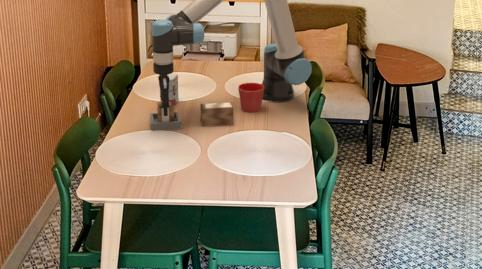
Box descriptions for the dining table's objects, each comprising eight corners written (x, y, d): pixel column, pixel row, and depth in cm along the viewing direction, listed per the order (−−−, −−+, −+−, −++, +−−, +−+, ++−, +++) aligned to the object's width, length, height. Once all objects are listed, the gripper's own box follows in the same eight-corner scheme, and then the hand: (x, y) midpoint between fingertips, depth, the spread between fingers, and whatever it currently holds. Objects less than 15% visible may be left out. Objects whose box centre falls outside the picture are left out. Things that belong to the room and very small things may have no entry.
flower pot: (234, 111, 280) (234, 89, 276) (243, 103, 290) (243, 81, 286) (258, 115, 277) (259, 92, 273) (267, 106, 286) (267, 84, 282)
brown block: (173, 118, 269) (172, 100, 266) (174, 122, 264) (173, 105, 261) (157, 119, 268) (157, 101, 265) (158, 123, 263) (157, 106, 260)
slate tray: (178, 118, 272) (177, 111, 271) (180, 128, 262) (180, 122, 261) (150, 119, 270) (149, 113, 269) (151, 130, 260) (151, 123, 259)
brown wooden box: (230, 118, 272) (230, 101, 270) (233, 124, 267) (233, 107, 264) (200, 120, 270) (200, 103, 268) (202, 126, 265) (202, 108, 262)
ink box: (173, 106, 284) (172, 79, 280) (161, 105, 285) (160, 78, 281) (179, 99, 292) (178, 73, 288) (167, 99, 293) (167, 72, 288)
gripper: (151, 55, 264) (154, 112, 273) (154, 69, 248) (156, 129, 257) (171, 55, 265) (172, 111, 274) (175, 68, 249) (177, 128, 258)
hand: (165, 120), depth 266 cm, fingers closed on brown block, 5 cm apart
